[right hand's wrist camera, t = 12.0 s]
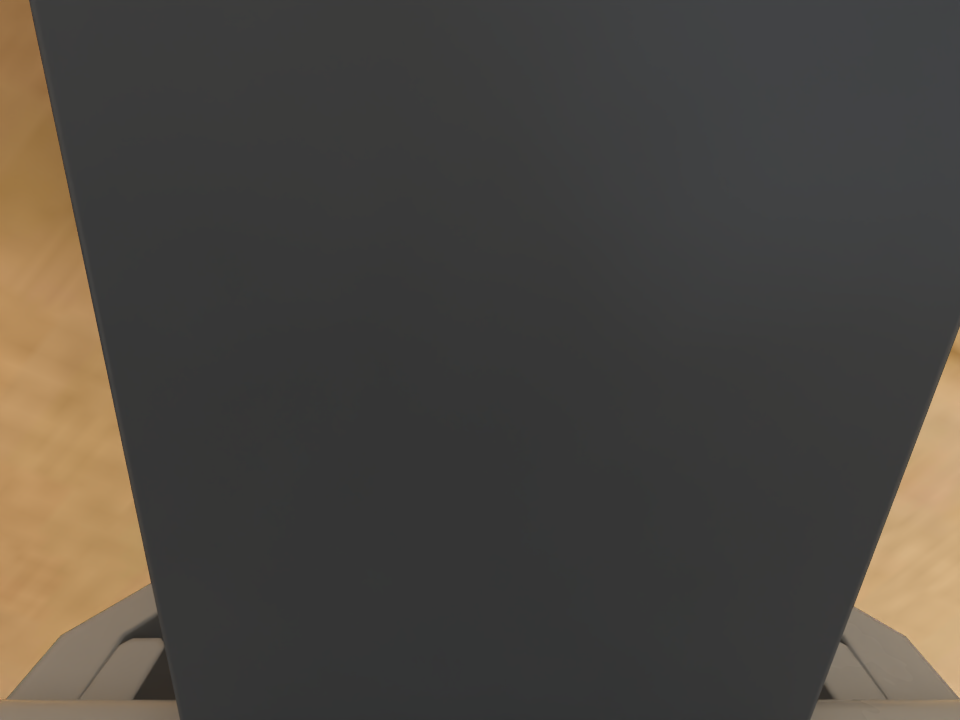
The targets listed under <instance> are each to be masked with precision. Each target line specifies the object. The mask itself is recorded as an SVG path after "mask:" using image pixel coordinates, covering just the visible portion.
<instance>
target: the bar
mask: <svg viewBox="0 0 960 720" xmlns="http://www.w3.org/2000/svg"><path fill="white" fill-rule="evenodd" d="M29 2H30V7H31V11H32V16H33V21H34V26H35V30H36V35H37V40H38V45H39V50H40V54H41V59H42V64H43V69H44V73H45V78H46V83H47V88H48V93H49V97H50V102H51V107H52V112H53V116H54V121H55V126H56V131H57V135H58V140H59V145H60V150H61V155H62V159H63V164H64V169H65V174H66V178H67V183H68V188H69V193H70V198H71V202H72V207H73V212H74V217H75V221H76V226H77V231H78V236H79V240H80V245H81V250H82V255H83V260H84V264H85V269H86V274H87V279H88V283H89V288H90V293H91V298H92V303H93V307H94V312H95V317H96V322H97V326H98V331H99V336H100V341H101V345H102V350H103V355H104V360H105V365H106V369H107V374H108V379H109V384H110V388H111V393H112V398H113V403H114V408H115V412H116V417H117V422H118V427H119V431H120V436H121V441H122V446H123V450H124V455H125V460H126V465H127V470H128V474H129V479H130V484H131V489H132V493H133V498H134V503H135V508H136V513H137V517H138V522H139V527H140V532H141V536H142V541H143V546H144V551H145V555H146V560H147V565H148V570H149V575H150V579H151V584H152V589H153V594H154V598H155V603H156V608H157V613H158V618H159V622H160V627H161V632H162V637H163V641H164V646H165V651H166V656H167V660H168V665H169V670H170V675H171V680H172V684H173V689H174V694H175V699H176V703H177V708H178V713H179V718H180V720H810V719H811V717H812V714H813V711H814V709H815V706H816V703H817V701H818V698H819V696H820V693H821V690H822V688H823V685H824V682H825V680H826V677H827V674H828V672H829V669H830V667H831V664H832V661H833V659H834V656H835V653H836V651H837V648H838V646H839V643H840V640H841V638H842V635H843V632H844V630H845V627H846V624H847V622H848V619H849V617H850V614H851V611H852V609H853V606H854V603H855V601H856V598H857V596H858V593H859V590H860V588H861V585H862V582H863V580H864V577H865V574H866V572H867V569H868V567H869V564H870V561H871V559H872V556H873V553H874V551H875V548H876V546H877V543H878V540H879V538H880V535H881V532H882V530H883V527H884V524H885V522H886V519H887V517H888V514H889V511H890V509H891V506H892V503H893V501H894V498H895V496H896V493H897V490H898V488H899V485H900V482H901V480H902V477H903V475H904V472H905V469H906V467H907V464H908V461H909V459H910V456H911V453H912V451H913V448H914V446H915V443H916V440H917V438H918V435H919V432H920V430H921V427H922V425H923V422H924V419H925V417H926V414H927V411H928V409H929V406H930V403H931V401H932V398H933V396H934V393H935V390H936V388H937V385H938V382H939V380H940V377H941V375H942V372H943V369H944V367H945V364H946V361H947V359H948V356H949V353H950V351H951V348H952V346H953V343H954V340H955V338H956V335H957V332H958V330H959V327H960V0H29Z"/></svg>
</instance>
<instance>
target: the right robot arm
mask: <svg viewBox="0 0 960 720" xmlns="http://www.w3.org/2000/svg"><path fill="white" fill-rule="evenodd" d="M0 720H180V718H179V713H178V708H177V703H176V699H175V694H174V689H173V684H172V680H171V675H170V670H169V665H168V660H167V656H166V651H165V646H164V641H163V637H162V632H161V627H160V622H159V618H158V613H157V608H156V603H155V598H154V594H153V589H152V584H149V585H147V586H145V587H144V588H142V589H140V590H138V591H137V592H135V593H133V594H132V595H130V596H128V597H126V598H125V599H123V600H121V601H120V602H118V603H116V604H114V605H113V606H111V607H109V608H107V609H106V610H104V611H102V612H101V613H99V614H97V615H95V616H94V617H92V618H90V619H88V620H87V621H85V622H83V623H82V624H80V625H78V626H76V627H75V628H73V629H71V630H70V631H68V632H66V633H64V634H63V635H61V636H60V637H59V638H58V639H57V640H56V642H55V643H54V644H53V645H52V646H51V647H50V649H49V650H48V651H47V652H46V653H45V654H44V656H43V657H42V658H41V659H40V660H39V661H38V663H37V664H36V665H35V666H34V667H33V668H32V670H31V671H30V672H29V673H28V674H27V675H26V677H25V678H24V679H23V680H22V681H21V682H20V684H19V685H18V686H17V687H16V688H15V689H14V691H13V692H12V693H11V694H10V695H9V696H8V698H7V699H6V700H0ZM810 720H960V699H959V697H958V696H957V695H956V694H955V693H954V692H953V690H952V689H951V688H950V687H949V686H948V685H947V684H946V682H945V681H944V680H943V679H942V678H941V677H940V675H939V674H938V673H937V672H936V671H935V670H934V669H933V667H932V666H931V665H930V664H929V663H928V662H927V660H926V659H925V658H924V657H923V656H922V655H921V653H920V652H919V651H918V650H917V649H916V648H915V647H914V645H913V644H912V643H911V642H910V641H909V640H908V638H907V637H906V636H904V635H902V634H901V633H899V632H897V631H895V630H894V629H892V628H890V627H888V626H887V625H885V624H883V623H882V622H880V621H878V620H876V619H875V618H873V617H871V616H869V615H868V614H866V613H864V612H863V611H861V610H859V609H857V608H856V607H854V606H853V609H852V611H851V614H850V617H849V619H848V622H847V624H846V627H845V630H844V632H843V635H842V638H841V640H840V643H839V646H838V648H837V651H836V653H835V656H834V659H833V661H832V664H831V667H830V669H829V672H828V674H827V677H826V680H825V682H824V685H823V688H822V690H821V693H820V696H819V698H818V701H817V703H816V706H815V709H814V711H813V714H812V717H811V719H810Z"/></svg>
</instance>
